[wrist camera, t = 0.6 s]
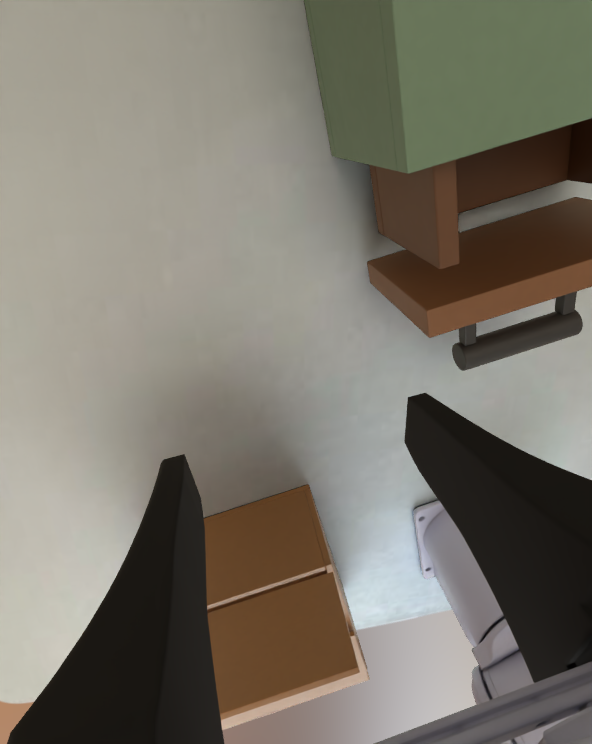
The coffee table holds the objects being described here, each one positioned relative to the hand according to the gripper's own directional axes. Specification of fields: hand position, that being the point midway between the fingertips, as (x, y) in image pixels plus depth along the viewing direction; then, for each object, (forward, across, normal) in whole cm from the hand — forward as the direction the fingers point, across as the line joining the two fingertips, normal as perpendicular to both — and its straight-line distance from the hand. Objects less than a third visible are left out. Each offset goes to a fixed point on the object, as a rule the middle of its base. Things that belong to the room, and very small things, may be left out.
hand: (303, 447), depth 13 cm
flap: (0, +5, +13) cm, 14 cm away
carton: (+9, +3, +22) cm, 24 cm away
